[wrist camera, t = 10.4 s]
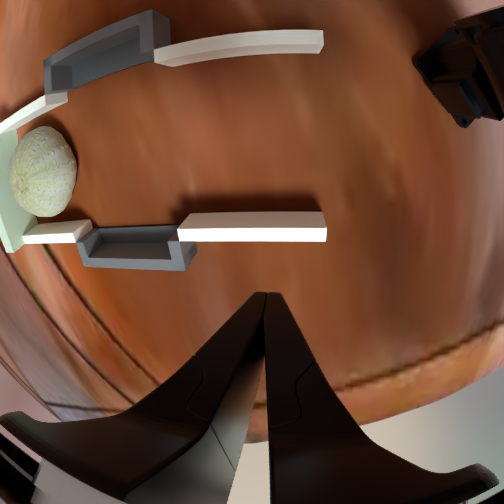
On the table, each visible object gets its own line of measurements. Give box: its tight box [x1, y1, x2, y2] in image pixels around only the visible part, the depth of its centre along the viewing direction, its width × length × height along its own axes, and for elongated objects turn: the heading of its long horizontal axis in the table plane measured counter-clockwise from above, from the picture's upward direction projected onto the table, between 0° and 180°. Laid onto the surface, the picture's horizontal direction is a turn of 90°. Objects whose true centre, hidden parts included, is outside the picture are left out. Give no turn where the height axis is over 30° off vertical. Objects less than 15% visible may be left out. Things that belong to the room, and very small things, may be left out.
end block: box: [0, 129, 38, 253], centre depth 20 cm, size 2×14×5 cm, turn 5°
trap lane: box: [0, 9, 327, 271], centre depth 18 cm, size 31×20×3 cm, turn 95°
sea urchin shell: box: [8, 126, 77, 217], centre depth 20 cm, size 9×8×8 cm
